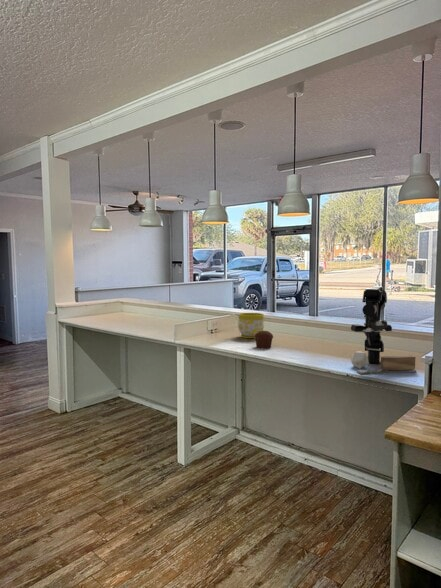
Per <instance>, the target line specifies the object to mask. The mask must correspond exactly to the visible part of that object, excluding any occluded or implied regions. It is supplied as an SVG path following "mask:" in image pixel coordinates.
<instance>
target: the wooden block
mask: <svg viewBox="0 0 441 588" xmlns="http://www.w3.org/2000/svg"><path fill="white" fill-rule="evenodd" d="M380 362H381V364H380V368H379V369H382V370H384V371H386V370H410V369H415V370H416V356H415V355H390V356H389V355H386V356H380Z"/></svg>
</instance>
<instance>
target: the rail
mask: <svg viewBox="0 0 441 588" xmlns="http://www.w3.org/2000/svg"><path fill="white" fill-rule="evenodd" d="M409 372H410V373H417V369H416V368H415V369H410V370H386V371H384V370H382V369H380V368H379V369H378V368H377V369H357V370H356V373H358V374H359V375H362V376H363V375H380V374H381V375H382V374H383V373H386V374H402V373H403V374H406V373H408V374H409Z"/></svg>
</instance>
